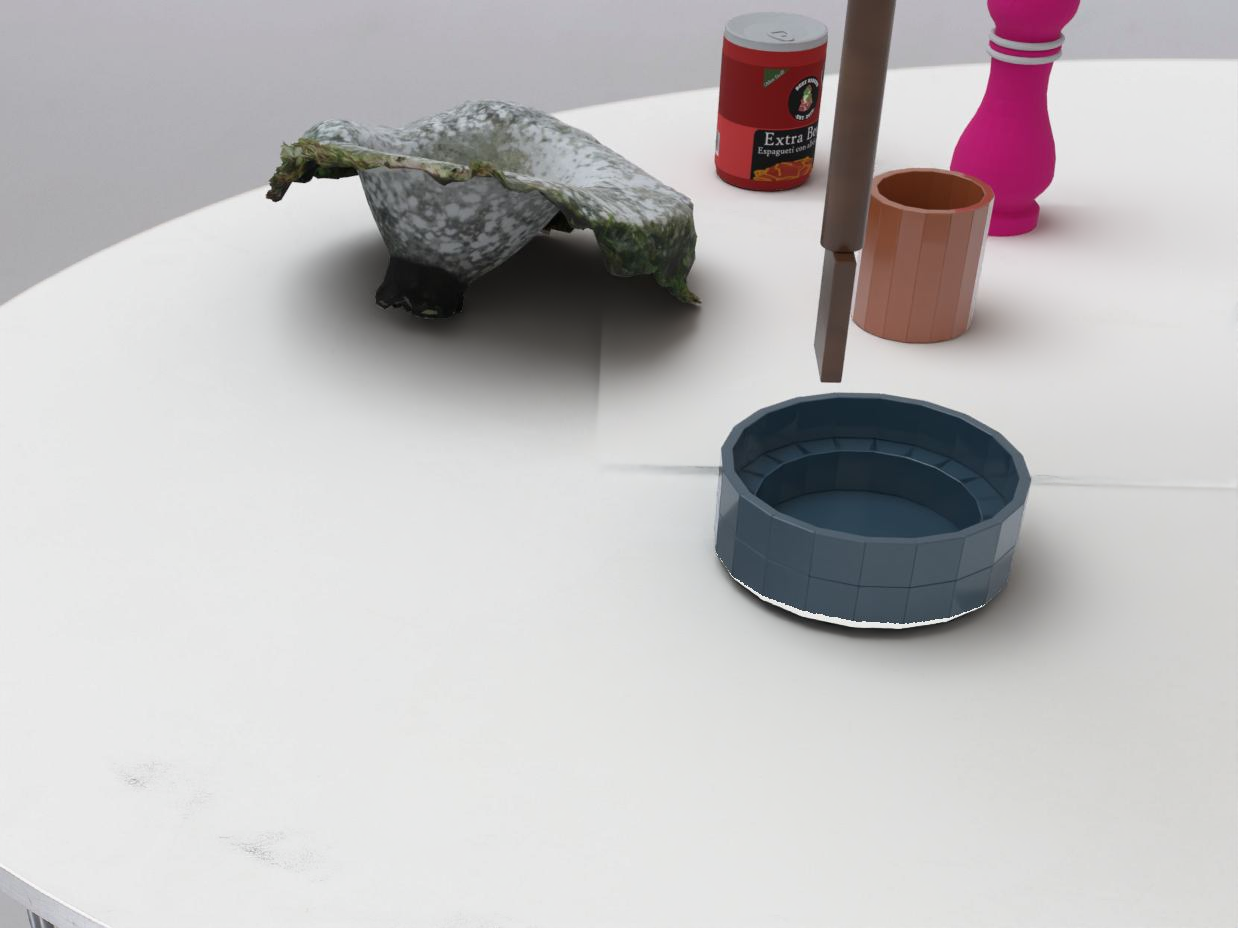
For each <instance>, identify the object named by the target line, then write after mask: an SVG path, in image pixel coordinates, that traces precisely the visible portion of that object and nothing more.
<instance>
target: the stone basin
mask: <svg viewBox="0 0 1238 928" xmlns="http://www.w3.org/2000/svg"><path fill="white" fill-rule="evenodd" d="M280 148H281V151H280V154H279V156H280V157H279V159H280V161H281V163H280V165H279V166H276V169H275V172H273V175H272V176H271V178H270V179H269V180H268V182H269V183H268V184H269V185H268V186H270V187H271V188H270V189H268V190H267V192H266V194H265V199H266V200H271V201H272V202H273V203H278V202H281V201H282V200H283V198H284V197H285V195H286V194H287V192H288V190H289V188H290V186H291V185H292V184H293V183H297V184H307V183H310V182H311V181H312V180H313V178H315V179H317V180H321V179H328V180H340V179H344V178H345V179H346V178H351V177H357V176H358V178H359V180H360V183H361V186H362V190H363V192H364V196H365V199H366V202H367V204H368V205H367V206H368V207H369V210H370V213H371V215H372V217H373V219H374V220H373V221H374V222H375V225H376V227H377V229H378V231H379V233H380V235H381V238H382V240H383V242H384V245H385V247H386V249H387V252H388V255H389V260H388V265H387V267H386V270H385V274H384V277H383V280H382V282H381V283H380V285H379V286H378V287H377V289H376V290H375V293H374V299H375V300H374V301H375V305H376V306H378V307H379V308H381V309H383V310H389V309H390V308H391V307H392V308H393V309H397V308H401V307H402V308H403V309H404V310H405V312H406V313H408V312H409V313H411V314H412V316H414V317H416V318H420V319H425V320H426V319H427V320H445V319H450V318H452V317H453V316H454V314H455V313H462V312H463V310H464V306H465V294H466V292H467V291H468V289H469V287H470V285H471V284H472V283H473V282H474V281H476V280H477V279H479V278H481V277H483V276H485V275H486V274H487V273H489V272H490V271H492V270H494V269H496V268H497V267H499V266H500V265H502V264H503V263H504V262H506V261H507V260H509V259H510V258H512V257H513V256H514V255H516V254H517V253H518V252H519V251H521V250H522V249H523V248H524V247H525V246H527V245H528V244H529V243H530V242H531V241H532V240H533V239H534V238H535V237H536V236H537V235H538V234H539V233H541V234H544V235H547V236H549V235H551V231H558V232H562V233H567V234H571V233H572V232H574V231H575V230H582V231H584V230H585V229H589V230H591V231H592V232H593V235H594V238H595V241H596V243H597V246H598V249H599V250H600V253H601V256H602V261H603V263H604V267H605V269H606V271H607V273H608V274H610V275H612V276H617V277H623V278H624V277H625V278H627V277H633V276H638V275H651V274H652V275H653V276H654V279H655V281H656V282H657V284H659V285H660V286H661V287H663V288H664V287H666V289H667V291H668V293H669V295H672V296H674V297H675V298H676V299H678V300H679V301H681V302H682V303H683V304H700V305H701V304H703V302H702V301H701V298H699V296H697V295H695V294H694V292H692V291H690V289H689V287H688V280H687V279H688V276H689V274H690V272H691V269H692V267H693V265H694V263H695V261H696V257H697V256H696V246H697V241H698V235H697V231H696V227H695V226H696V225H695V219H694V203H693V202H692V200H691V198H690V197H689V196H686V195H685V194H684V193H681V192H679V191H677V190H676V189H675V188H673V187H672V186H669V185H666V184H664V183H663V182H662V181H661V180H660V179H658V178H656V177H654V176H653V175H651V174H650V173H648V172H646V171H645V170H644V169H643V168H641V167H639V166H638V165H636V164H635V163H633V162H631V161H630V160H629V159H627V158H626V157H624V156H623V155H621V154H620V153H618V152H615V151H614V150H613V149H612V148H610V147H608V146H607V145H605V144H603V143H601V142H600V141H599V140H598V139H597V138H596V137H595V136H594V135H593V134H592V133H589V132H588V131H585V130H583V129H581V128H578V127H575V126H572V125H571V124H568V123H565V122H563V121H562V120H560V119H558V118H557V117H556V116H554V115H552V114H551V113H549V112H547V111H545V110H542V109H540V108H536V107H534V106H530V105H524V104H520V103H519V102H517V101H513V100H510V99H491V98H490V99H489V98H484V99H476V100H475V99H474V100H473V99H472V100H464V101H463V102H461V103H458V104H456V105H455V106H454V107H453V108H450V109H447V110H444V111H440V112H437V113H433V114H431V115H428V116H424V117H421V118H419V119H416V120H414V121H410V122H409V123H407V124H405V125H403V126H389V125H384V124H378V125H377V124H376V125H374V124H363V123H361V122H357V121H356V122H355V121H352V120H350V119H346V118H340V117H339V118H338V117H337V118H330V119H328V120H321V121H320V122H319V121H318V122H317V123H315V124H313V125H312V126H311V127H310V128H309V129H308V130H306V131H304V133H303V135H302V136H301V137H299V138H298V139H297V142H293V143H290V145H289V144H287V143H286V142H285V141H284V140H282V142H281V145H280Z"/></svg>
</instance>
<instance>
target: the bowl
mask: <svg viewBox="0 0 1238 928" xmlns="http://www.w3.org/2000/svg"><path fill="white" fill-rule="evenodd" d="M1031 484H1032V476H1031V473H1030V471H1029V468H1028V466H1027V463H1026V460H1025V457H1024V455H1023V454H1022V452H1020V451H1019V450H1018V449H1017V448H1016V446H1014V445H1013V444H1012V442H1010V441H1009V439H1007V438H1006V437H1005V436H1004V435H1003V434H1002V433H1000V431H998V430H996V429H994V428H992V427H991V426H989V425H987V424H985V423H983V422H982V421H980V420H978V419H976V418H975V417H973V416H971V415H969V414H966V413H964V412H961V411H958V410H955V409H952V408H950V407H946V406H943V405H941V404H938V403H937V404H936V403H935V402H932V401H928V400H924V399H918V398H913V397H912V398H911V397H905V396H900V395H893V394H887V393H880V392H879V393H877V392H842V391H841V392H840V391H839V392H838V391H837V392H836V391H835V392H828V393H827V392H825V393H819V394H811V395H803V396H796V397H792V398H790V399H787V400H783V401H780V402H777V403H774V404H771V405H768V406H765V407H762V408H759V409H757V410H756V411H755V412H753V413H752V414H750V415H749V416H747V417H745V418H744V419H742V420H741V421H740V422H738V423H737V424H735V425H734V426H733V427H732V429H731V431H730V432H729V434H728V436H727V437H726V439H725V440H724V442H723V444H722V445H721V448H720V454H719V468H718V478H717V491H716V502H715V503H716V504H715V514H714V524H713V535H714V549H715V551H716V552H715V554H716V553H717V554H718V556H719V557H718V556H717V557H718V559H719V558H721V560H722V561H723V563H724V565H725V566H726V567H727V569H728V570H729V572H730V573H731V575H732V576H733V577H734V578H736V579H738V580H740V582H743V583H744V585H746V586H747V585H748V587H750V588H752V589H753V590H754V591H756V592H758V593H759V594H761V595H762V596H765V597H768V598H769V599H773V600H776V601H777V602H781V603H785V605H789V606H792V607H794V608H797V609H799V610H802V611H808V612H810V613H813V614H816V613H817V614H823V615H825V616H829V617H838V618H841V619H846V620H851V621H856V622H862V621H866V622H880V623H887V622H889V623H894V624H896V623H899V624H905V623H907V624H909V623H913V622H915V623H917V622H922V621H923V622H925V621H930V620H935V619H943V618H950V617H952V616H953V617H954V616H955V615H959V614H961V613H963V612H967V611H970V610H972V609H974V608H978V607H980V606H981V605H982V606H983V605H984V604H986V602H988V601H989V600H990V599H991V598H993V597H994V596H995V595H996V594H997V593H998V592H999V591H1000V592H1001V591H1002V590H1004V588H1006V586H1008V581H1009V579H1010V574H1011V571H1012V568H1013V564H1014V560H1015V556H1016V552H1017V547H1018V543H1019V539H1020V534H1021V529H1022V524H1023V520H1024V516H1025V511H1026V507H1027V502H1028V498H1029V493H1030V490H1031V489H1030V488H1031ZM717 554H716V555H717ZM721 560H720V561H721ZM723 563H722V564H723ZM724 565H723V566H724ZM725 566H724V567H725ZM727 569H726V570H727ZM1000 592H999V593H1000ZM999 593H998V594H999ZM998 594H997V595H998ZM997 595H996V596H997ZM996 596H995V597H996ZM995 597H994V598H995ZM994 598H993V599H994ZM991 600H992V599H991ZM991 600H990V601H991ZM990 601H989V602H990ZM989 602H988V603H989ZM986 605H987V604H986Z"/></svg>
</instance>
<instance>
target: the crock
mask: <svg viewBox="0 0 1238 928" xmlns="http://www.w3.org/2000/svg"><path fill="white" fill-rule="evenodd" d="M994 198H995V195H994V193H993V191H992V188H991V187H990V186H989V185H987V184H986V183H984V182H983V181H981V180H980V179H977V178H975V177H972V176H969V175H966V174H963V173H960V172H956V171H950V169H942V168H936V167H907V168H899V169H893V170H888V171H885V172H883V173H881V174H878V175H875V176H873V181H872V189H871V197H870V204H869V212H868V219H867V227H866V235H865V242H864V246H863V248H862V249H861V250H859V251H857V252H858V254H857V258H856V262H857V266H856V273H855V281H854V289H853V297H852V304H851V312H850V317H851V319H852V322H853V323H854V324H855V325H856V326H857V327H858V328H860V329H861V330H862V331H864V332H866V333H867V334H870V335H871V336H874V337H877V338H880V339H883V340H887V341H892V342H897V343H902V344H914V345H915V344H917V345H923V344H925V345H929V344H937V343H944V342H948V341H952V340H955V339H956V338H959V337H961V336H963V335H964V334H965V333H967V331H968V330H969V328H970V326H971V325H972V322H973V317H974V311H975V306H976V300H977V295H978V290H979V284H980V278H981V274H982V268H983V263H984V257H985V252H986V246H987V241H988V237H989V236H988V231H989V225H990V220H991V214H992V209H993V203H994Z"/></svg>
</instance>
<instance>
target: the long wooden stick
mask: <svg viewBox="0 0 1238 928" xmlns="http://www.w3.org/2000/svg"><path fill="white" fill-rule="evenodd" d="M846 2H847V4H846V12H845V20H844V30H843V38H842V47H841V56H840V65H839V74H838V82H837V91H836V100H835V107H834V108H835V109H834V115H833V116H834V117H833V118H834V119H833V126H832V133H831V134H832V135H831V143H830V153H829V161H828V169H827V179H826V187H825V197H824V204H823V215H822V222H821V232H820V240H819V244H820V246H821V247H822V248H823V249H824V256H823V263H822V271H821V273H822V274H821V279H820V288H819V297H818V307H817V315H816V323H815V330H814V331H815V332H814V340H813V348H814V354H815V359H816V364H817V370H818V375H819V381H820V383H824V384H825V383H828V384H829V383H830V384H831V383H832V384H841V383H842V382H843V381H842V380H843V373H844V366H845V358H846V349H847V342H848V336H849V335H848V334H849V327H850V320H851V319H850V318H851V304H852V297H853V289H854V282H855V274H856V267H857V258H856V255H855V252H859V250H861V249H862V248H863V246H864V242H865V235H866V227H867V219H868V212H869V204H870V197H871V189H872V181H873V178H874V174H875V167H876V166H875V165H876V158H877V151H878V143H879V136H880V127H881V119H882V112H883V105H884V98H885V90H886V83H887V74H888V67H889V58H890V52H891V46H892V45H891V43H892V37H893V29H894V21H895V15H896V13H895V12H896V7H897V6H896V5H897V0H847V1H846Z"/></svg>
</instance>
